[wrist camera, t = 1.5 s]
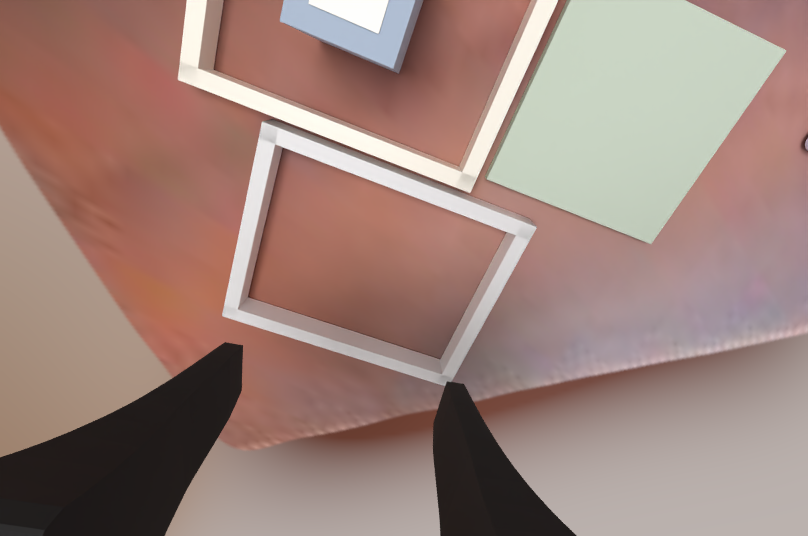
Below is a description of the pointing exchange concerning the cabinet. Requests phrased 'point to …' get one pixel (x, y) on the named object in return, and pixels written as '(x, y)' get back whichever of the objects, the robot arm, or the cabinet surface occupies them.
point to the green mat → (629, 109)
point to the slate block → (358, 26)
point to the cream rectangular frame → (200, 73)
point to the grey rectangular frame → (304, 143)
